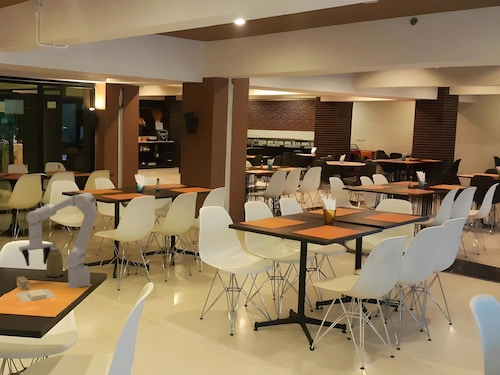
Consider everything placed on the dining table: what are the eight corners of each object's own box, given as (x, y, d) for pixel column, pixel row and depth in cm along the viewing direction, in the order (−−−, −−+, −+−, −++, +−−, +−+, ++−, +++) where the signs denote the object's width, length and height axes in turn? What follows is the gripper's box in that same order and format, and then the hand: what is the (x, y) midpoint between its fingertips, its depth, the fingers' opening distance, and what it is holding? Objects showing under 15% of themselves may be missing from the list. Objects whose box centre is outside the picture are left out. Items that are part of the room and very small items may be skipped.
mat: (48, 289, 255) (47, 288, 255) (56, 297, 244) (56, 296, 244) (15, 294, 247) (15, 293, 247) (22, 303, 236) (22, 302, 236)
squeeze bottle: (66, 274, 282) (65, 239, 280) (59, 278, 274) (58, 242, 272) (51, 273, 283) (50, 238, 281) (43, 277, 275) (42, 241, 273)
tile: (41, 289, 249) (46, 294, 241) (41, 293, 249) (46, 298, 242) (27, 291, 245) (32, 296, 238) (27, 295, 246) (32, 300, 238)
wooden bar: (23, 285, 262) (23, 276, 261) (29, 290, 254) (29, 281, 253) (16, 286, 260) (16, 277, 259) (22, 292, 252) (22, 282, 251)
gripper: (49, 233, 269) (50, 260, 270) (17, 236, 261) (18, 264, 262) (53, 235, 263) (53, 263, 264) (20, 238, 255) (21, 268, 256)
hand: (36, 264), depth 263 cm, fingers open, 7 cm apart
